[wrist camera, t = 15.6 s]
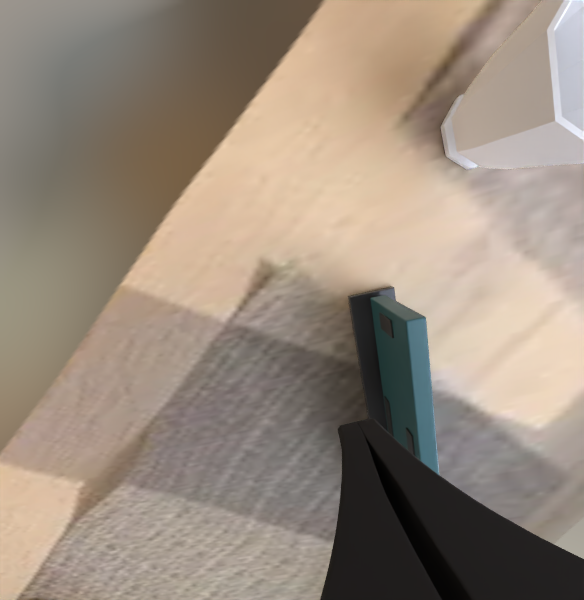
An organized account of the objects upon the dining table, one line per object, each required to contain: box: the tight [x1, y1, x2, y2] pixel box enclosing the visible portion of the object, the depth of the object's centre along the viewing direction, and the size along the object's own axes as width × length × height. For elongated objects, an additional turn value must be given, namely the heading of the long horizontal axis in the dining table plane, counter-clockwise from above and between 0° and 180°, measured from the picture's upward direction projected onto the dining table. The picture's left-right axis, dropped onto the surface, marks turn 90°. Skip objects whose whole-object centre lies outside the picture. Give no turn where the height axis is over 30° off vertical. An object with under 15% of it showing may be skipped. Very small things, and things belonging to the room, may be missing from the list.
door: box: [371, 295, 439, 475], centre depth 17 cm, size 12×1×5 cm, turn 11°
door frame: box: [348, 287, 396, 432], centre depth 16 cm, size 16×4×10 cm, turn 12°
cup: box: [441, 0, 584, 170], centre depth 13 cm, size 7×10×8 cm
